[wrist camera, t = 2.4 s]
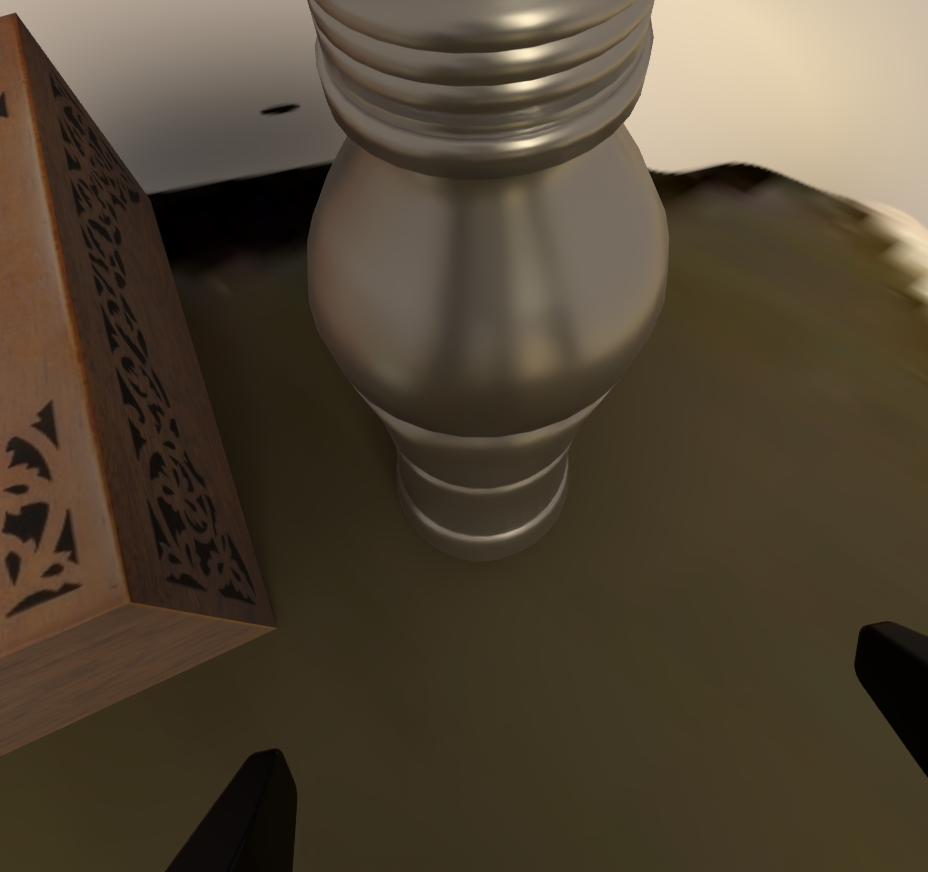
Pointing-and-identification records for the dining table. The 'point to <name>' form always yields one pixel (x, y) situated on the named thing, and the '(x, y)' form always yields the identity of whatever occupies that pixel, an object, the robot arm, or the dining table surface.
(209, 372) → the dining table surface
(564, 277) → the plastic bottle
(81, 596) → the tissue box cover
